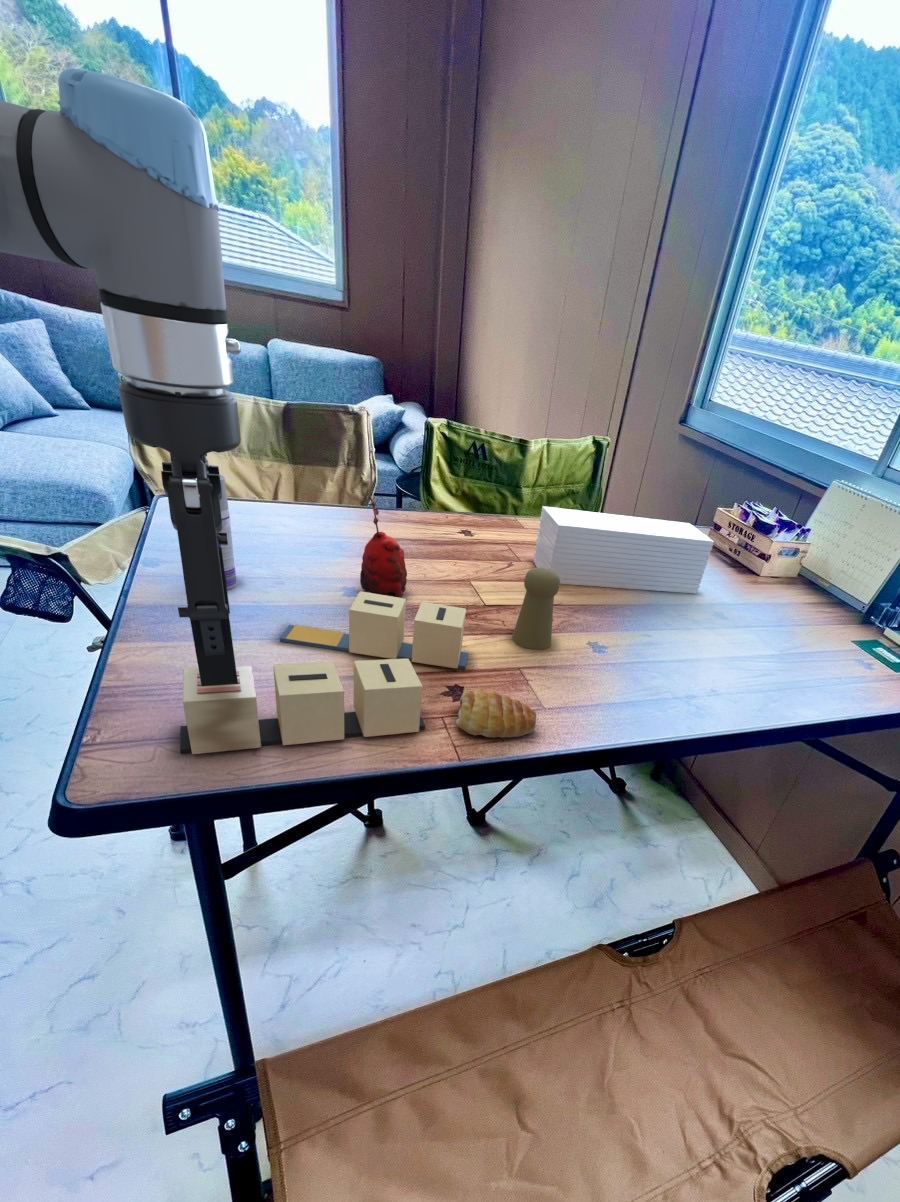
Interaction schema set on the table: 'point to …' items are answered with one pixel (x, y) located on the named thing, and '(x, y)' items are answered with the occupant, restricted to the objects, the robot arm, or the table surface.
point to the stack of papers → (621, 551)
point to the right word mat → (393, 632)
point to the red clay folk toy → (383, 564)
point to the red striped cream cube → (221, 713)
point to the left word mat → (339, 703)
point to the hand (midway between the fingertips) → (217, 645)
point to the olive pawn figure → (537, 609)
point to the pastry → (494, 715)
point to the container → (227, 549)
